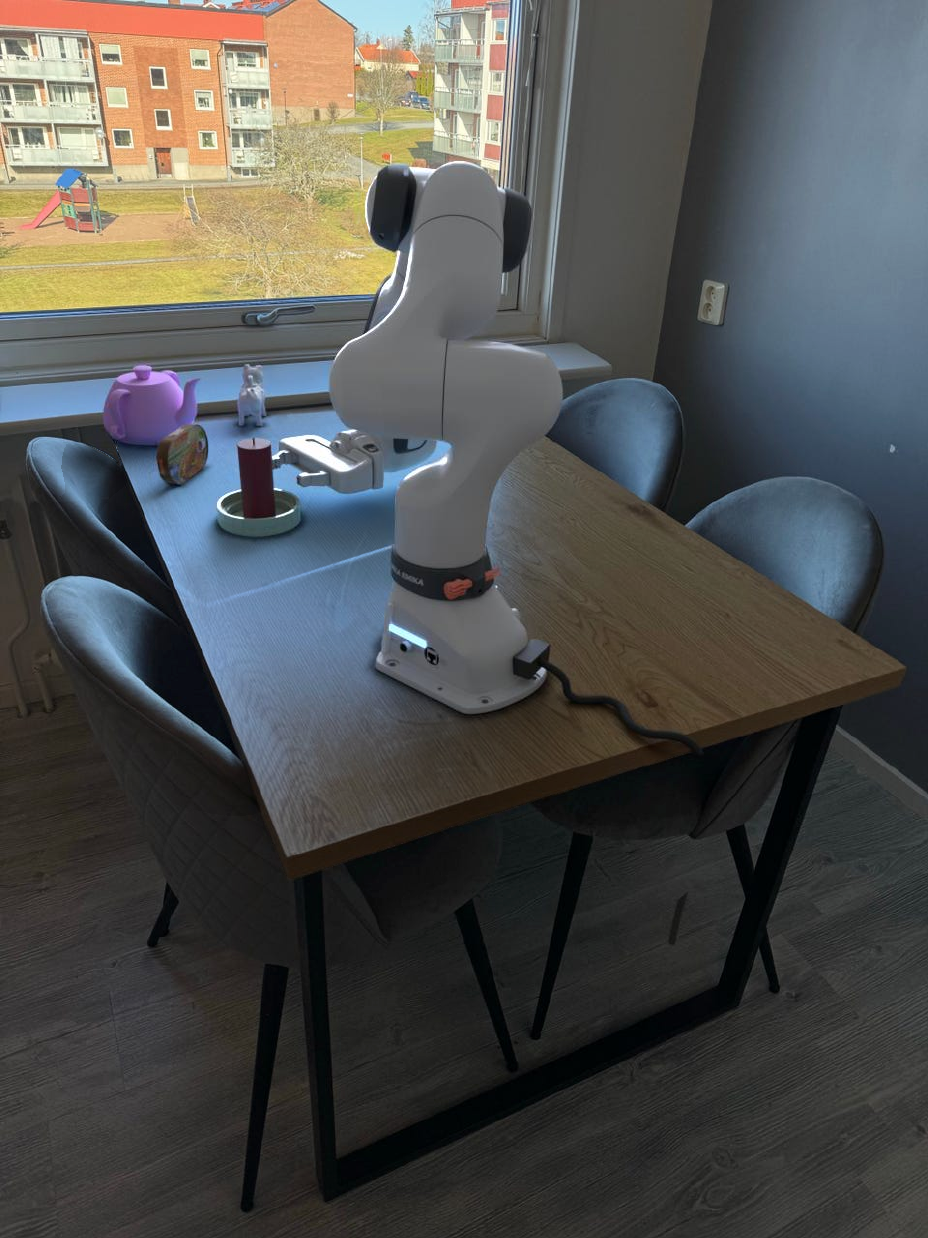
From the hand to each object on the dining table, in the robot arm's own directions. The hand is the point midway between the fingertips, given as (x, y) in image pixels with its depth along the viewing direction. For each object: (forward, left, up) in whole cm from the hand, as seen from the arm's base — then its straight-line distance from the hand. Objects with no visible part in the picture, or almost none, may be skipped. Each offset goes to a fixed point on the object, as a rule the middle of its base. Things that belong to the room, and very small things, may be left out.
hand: (283, 472), depth 144 cm
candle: (0, +5, -7) cm, 9 cm away
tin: (+25, +6, -8) cm, 27 cm away
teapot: (+46, +1, -8) cm, 47 cm away
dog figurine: (+47, -20, -8) cm, 52 cm away
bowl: (0, +5, -7) cm, 9 cm away
